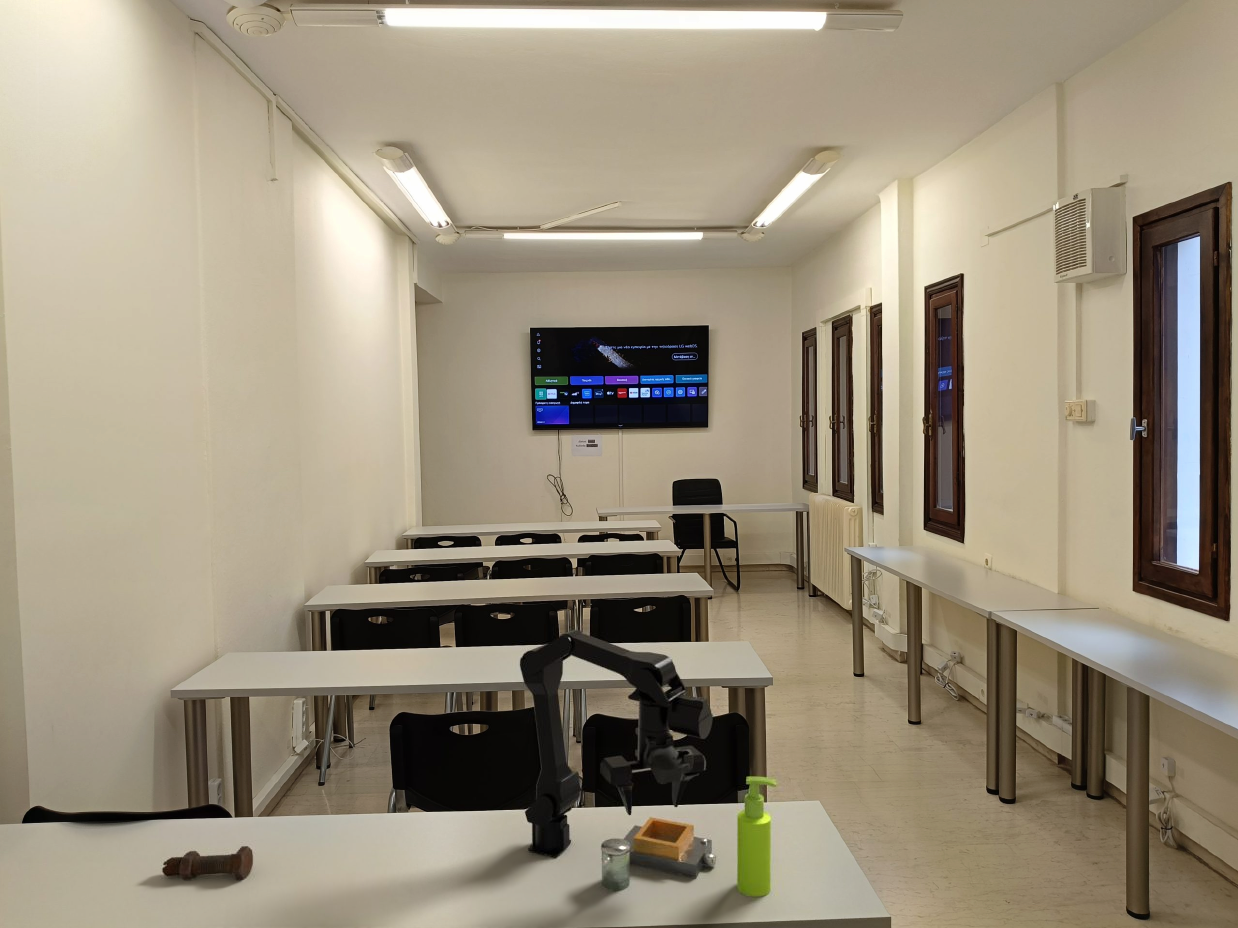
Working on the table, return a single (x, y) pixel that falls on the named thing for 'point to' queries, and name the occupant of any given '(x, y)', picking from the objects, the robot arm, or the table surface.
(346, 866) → the table surface
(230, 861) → the bolt
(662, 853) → the grey orange socket fixture
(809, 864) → the table surface
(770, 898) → the table surface
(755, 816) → the soap dispenser
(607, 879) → the spout can
